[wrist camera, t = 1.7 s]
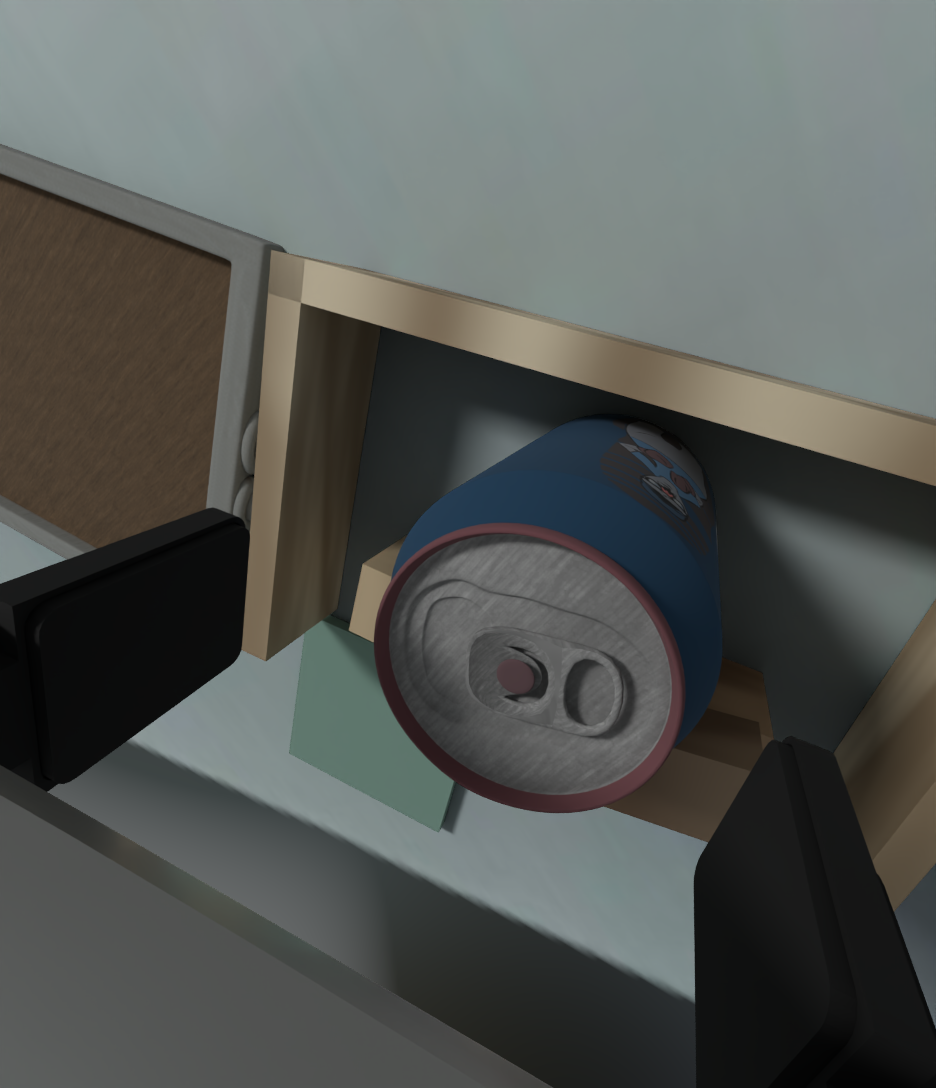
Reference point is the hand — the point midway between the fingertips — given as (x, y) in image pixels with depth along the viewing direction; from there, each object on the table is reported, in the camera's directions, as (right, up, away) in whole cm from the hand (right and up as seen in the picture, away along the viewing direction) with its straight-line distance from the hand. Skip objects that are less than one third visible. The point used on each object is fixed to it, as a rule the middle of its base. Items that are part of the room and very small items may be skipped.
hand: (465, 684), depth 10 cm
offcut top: (+6, -4, +9) cm, 11 cm away
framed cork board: (-20, +11, +20) cm, 31 cm away
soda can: (+5, +4, +11) cm, 13 cm away
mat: (-4, -6, +18) cm, 20 cm away
